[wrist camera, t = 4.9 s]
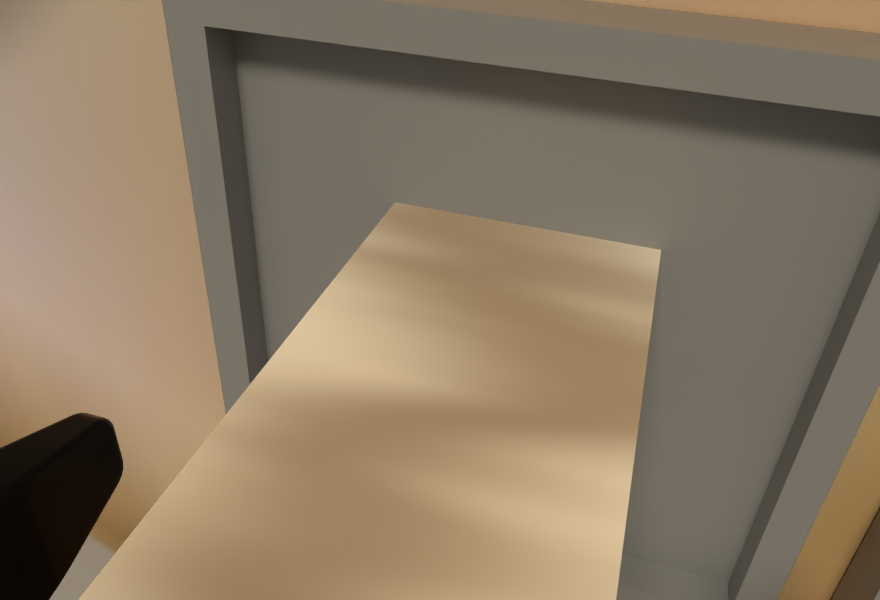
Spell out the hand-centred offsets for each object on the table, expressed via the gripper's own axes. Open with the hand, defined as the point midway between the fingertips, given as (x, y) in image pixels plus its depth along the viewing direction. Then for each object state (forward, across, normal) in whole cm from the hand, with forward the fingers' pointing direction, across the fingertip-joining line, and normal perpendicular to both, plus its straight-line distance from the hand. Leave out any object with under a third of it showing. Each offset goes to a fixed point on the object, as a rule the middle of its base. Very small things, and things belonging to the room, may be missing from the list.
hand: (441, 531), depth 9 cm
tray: (+5, 0, 0) cm, 5 cm away
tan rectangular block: (+4, 0, 0) cm, 4 cm away
